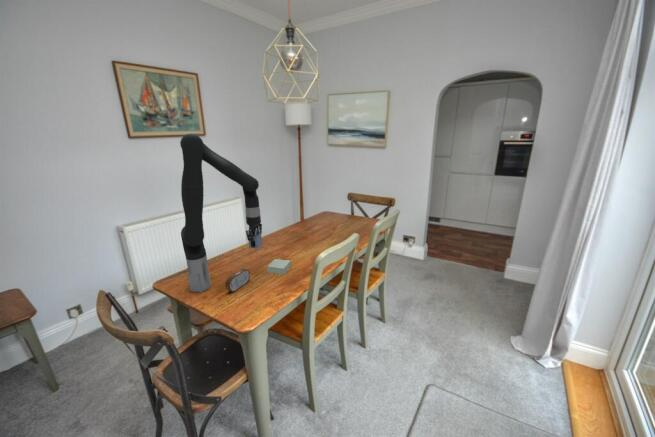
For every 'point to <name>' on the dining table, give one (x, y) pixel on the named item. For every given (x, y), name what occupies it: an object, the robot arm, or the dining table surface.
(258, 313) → the dining table surface
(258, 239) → the slate block
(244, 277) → the tin
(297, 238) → the dining table surface
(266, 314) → the dining table surface
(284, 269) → the sage tile
